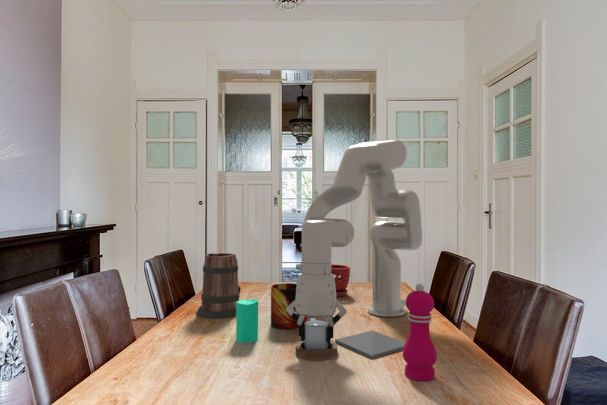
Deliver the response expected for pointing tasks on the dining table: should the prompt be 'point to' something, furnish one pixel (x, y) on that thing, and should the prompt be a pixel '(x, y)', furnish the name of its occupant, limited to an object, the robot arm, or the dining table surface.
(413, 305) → the pepper mill
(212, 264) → the tankard
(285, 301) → the mug
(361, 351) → the tile
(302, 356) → the stand
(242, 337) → the candle
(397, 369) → the dining table surface
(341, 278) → the plant pot
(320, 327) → the jug
